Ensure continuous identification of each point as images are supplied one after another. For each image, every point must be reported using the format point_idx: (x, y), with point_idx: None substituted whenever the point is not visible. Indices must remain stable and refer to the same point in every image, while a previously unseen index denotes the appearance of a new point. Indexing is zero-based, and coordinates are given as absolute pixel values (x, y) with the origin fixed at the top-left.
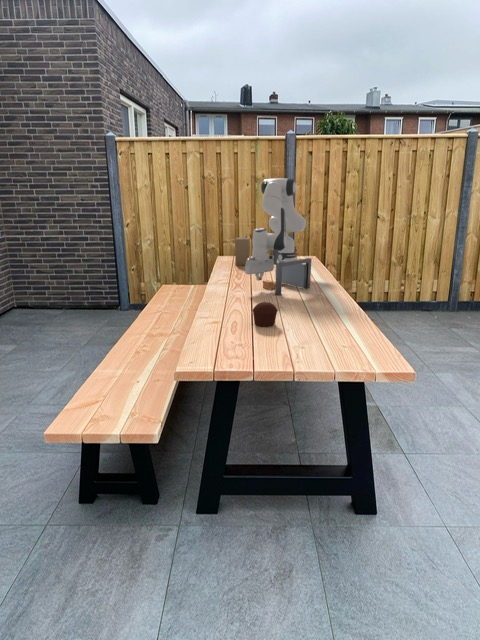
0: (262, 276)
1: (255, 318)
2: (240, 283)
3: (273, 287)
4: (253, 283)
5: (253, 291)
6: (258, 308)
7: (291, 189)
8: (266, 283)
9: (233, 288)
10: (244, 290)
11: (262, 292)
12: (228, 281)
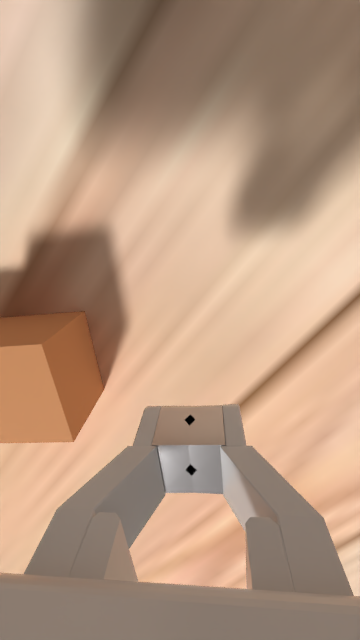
0: (117, 456)
1: None
2: (186, 559)
3: (11, 318)
4: None
5: (303, 318)
6: None
7: None
8: (66, 374)
9: (356, 498)
10: (342, 401)
11: (253, 214)
12: None
